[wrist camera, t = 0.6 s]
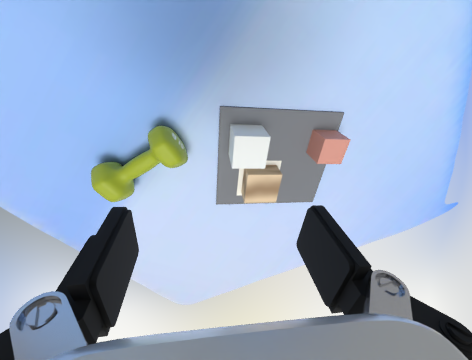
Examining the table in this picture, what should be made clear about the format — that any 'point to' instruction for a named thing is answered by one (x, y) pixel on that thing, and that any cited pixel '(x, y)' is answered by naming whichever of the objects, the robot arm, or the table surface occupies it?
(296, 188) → the grey mat
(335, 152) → the red cube
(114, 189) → the dumbbell
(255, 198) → the oak base
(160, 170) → the table surface
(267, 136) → the grey cube
